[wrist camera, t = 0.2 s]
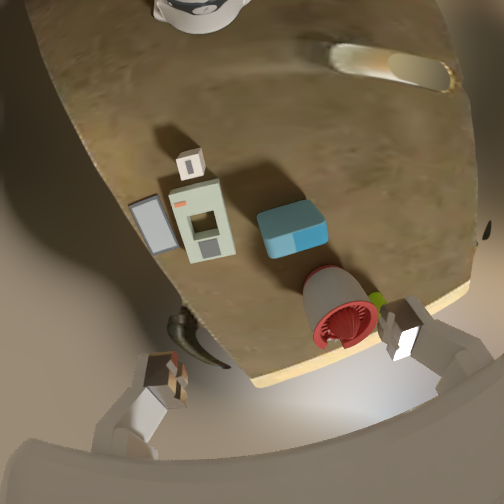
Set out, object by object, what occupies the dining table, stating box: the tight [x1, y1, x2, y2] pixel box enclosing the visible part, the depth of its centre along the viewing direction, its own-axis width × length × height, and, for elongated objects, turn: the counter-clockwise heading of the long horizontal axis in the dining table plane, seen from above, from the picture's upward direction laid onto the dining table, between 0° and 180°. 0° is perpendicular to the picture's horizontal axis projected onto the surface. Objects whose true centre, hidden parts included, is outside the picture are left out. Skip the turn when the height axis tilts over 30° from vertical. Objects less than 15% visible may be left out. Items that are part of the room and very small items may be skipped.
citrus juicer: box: [303, 265, 378, 349], centre depth 62 cm, size 16×17×20 cm
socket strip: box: [168, 178, 236, 263], centre depth 56 cm, size 16×10×4 cm, turn 10°
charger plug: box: [176, 147, 206, 180], centre depth 48 cm, size 4×4×7 cm
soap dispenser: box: [368, 292, 387, 323], centre depth 67 cm, size 6×7×20 cm
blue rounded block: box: [257, 200, 328, 258], centre depth 54 cm, size 12×4×12 cm, turn 106°
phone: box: [129, 194, 180, 256], centre depth 57 cm, size 13×7×1 cm, turn 15°
